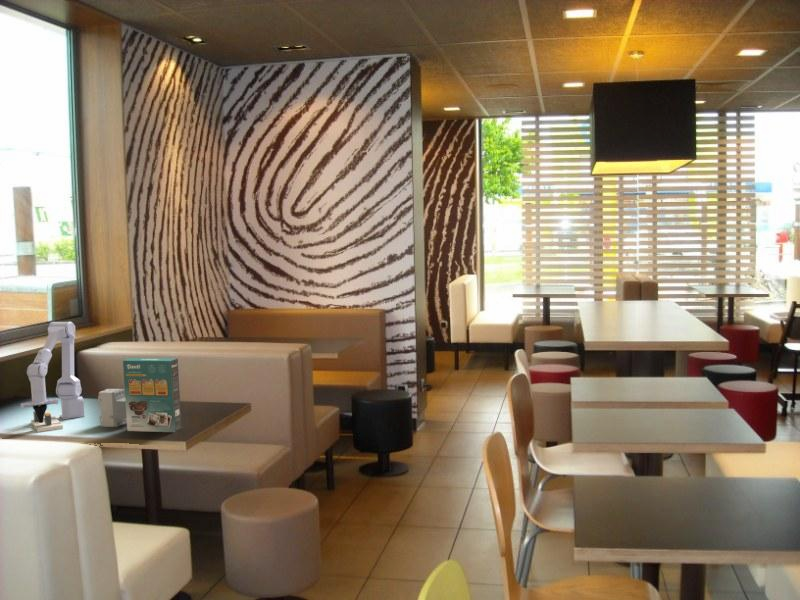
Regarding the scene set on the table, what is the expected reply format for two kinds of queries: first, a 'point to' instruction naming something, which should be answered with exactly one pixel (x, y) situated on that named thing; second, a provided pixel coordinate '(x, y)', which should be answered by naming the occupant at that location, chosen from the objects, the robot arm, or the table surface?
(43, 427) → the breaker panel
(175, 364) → the cake mix box
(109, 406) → the circuit breaker
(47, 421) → the breaker handle
